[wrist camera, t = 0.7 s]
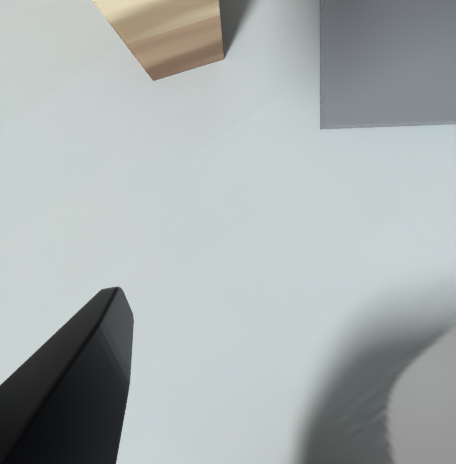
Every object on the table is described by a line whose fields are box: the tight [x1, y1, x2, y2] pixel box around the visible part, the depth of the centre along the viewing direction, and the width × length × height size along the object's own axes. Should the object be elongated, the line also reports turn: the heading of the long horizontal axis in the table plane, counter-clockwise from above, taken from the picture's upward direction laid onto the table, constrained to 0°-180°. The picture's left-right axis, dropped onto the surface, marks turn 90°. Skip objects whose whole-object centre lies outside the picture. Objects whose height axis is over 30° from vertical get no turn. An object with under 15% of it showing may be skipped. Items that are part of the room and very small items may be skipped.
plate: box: [320, 0, 456, 129], centre depth 20 cm, size 12×12×1 cm
